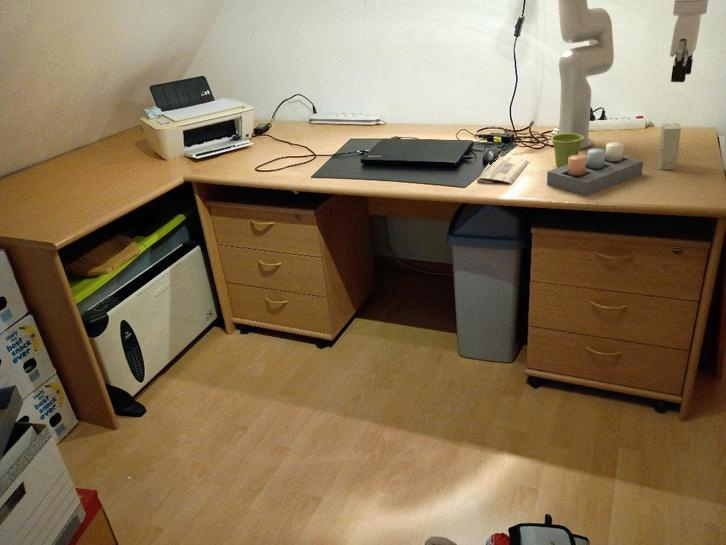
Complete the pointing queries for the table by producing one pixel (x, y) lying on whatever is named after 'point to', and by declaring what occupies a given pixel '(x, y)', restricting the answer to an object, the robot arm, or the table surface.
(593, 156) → the pale blue egg
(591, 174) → the grey egg holder
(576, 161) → the light brown oval
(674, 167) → the skincare box
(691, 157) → the table surface
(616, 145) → the cream white egg
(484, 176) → the newspaper
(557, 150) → the plant pot
